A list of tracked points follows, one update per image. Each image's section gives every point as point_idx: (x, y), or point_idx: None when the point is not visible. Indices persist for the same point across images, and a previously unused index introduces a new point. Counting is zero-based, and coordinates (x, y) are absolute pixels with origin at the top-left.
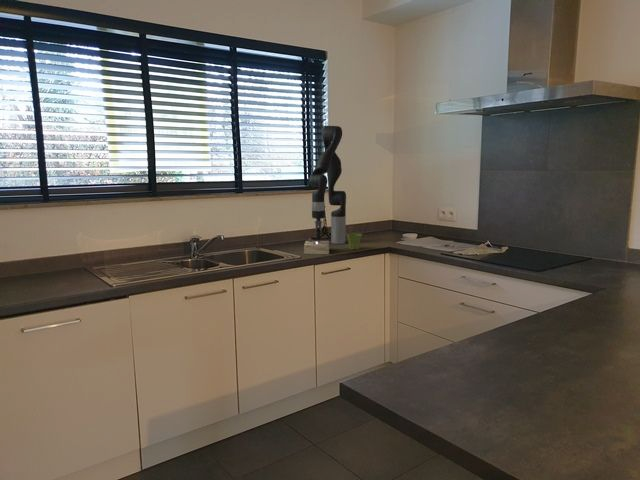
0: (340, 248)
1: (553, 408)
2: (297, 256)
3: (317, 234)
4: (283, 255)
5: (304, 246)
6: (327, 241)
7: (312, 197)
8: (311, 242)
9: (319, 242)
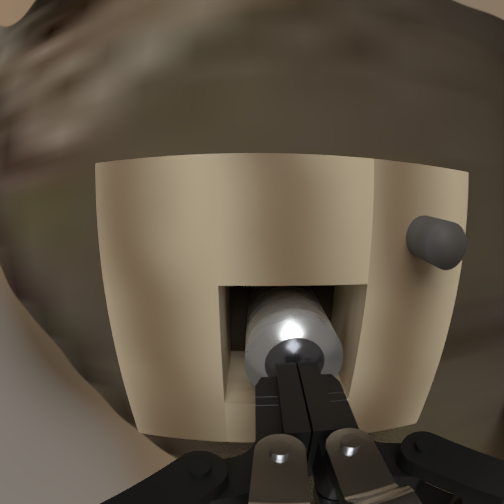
0: (390, 435)
1: None
2: (60, 125)
3: (256, 433)
4: (114, 9)
5: (100, 169)
6: (385, 420)
7: None
8: (358, 254)
9: (247, 371)
